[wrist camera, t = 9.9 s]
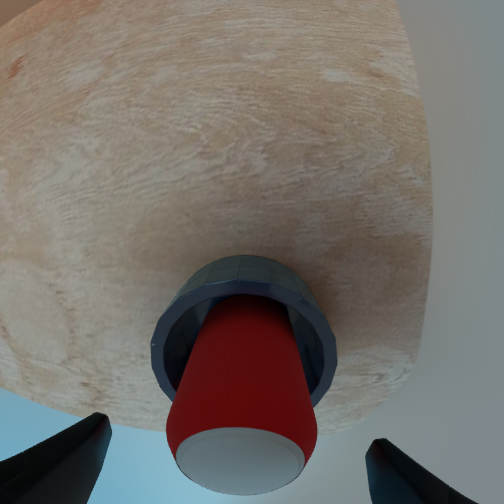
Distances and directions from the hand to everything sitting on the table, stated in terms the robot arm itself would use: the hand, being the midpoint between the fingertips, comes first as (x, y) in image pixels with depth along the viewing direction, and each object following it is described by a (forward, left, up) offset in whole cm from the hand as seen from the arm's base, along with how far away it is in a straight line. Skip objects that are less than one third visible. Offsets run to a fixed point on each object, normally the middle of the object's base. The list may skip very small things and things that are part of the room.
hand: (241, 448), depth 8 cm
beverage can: (0, +2, -12) cm, 13 cm away
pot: (0, +2, -13) cm, 13 cm away
